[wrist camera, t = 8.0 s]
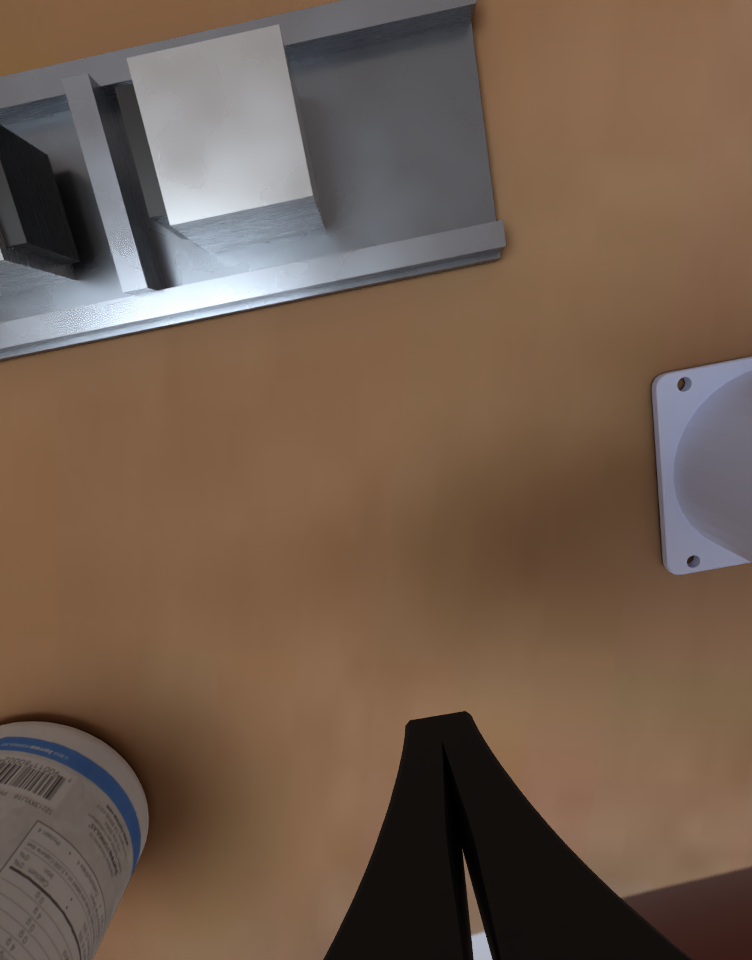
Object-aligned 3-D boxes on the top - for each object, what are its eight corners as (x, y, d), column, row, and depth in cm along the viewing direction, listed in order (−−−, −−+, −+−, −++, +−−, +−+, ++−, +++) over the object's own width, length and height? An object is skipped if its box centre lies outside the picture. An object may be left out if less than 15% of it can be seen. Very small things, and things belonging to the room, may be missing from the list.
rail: (463, -3, 16) (493, -126, 12) (496, 261, 18) (532, 230, 14) (-128, 128, 17) (-286, 54, 13) (-40, 369, 18) (-154, 370, 14)
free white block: (298, 96, 16) (278, 24, 13) (325, 229, 17) (313, 195, 14) (160, 126, 16) (103, 63, 13) (193, 257, 17) (148, 229, 14)
